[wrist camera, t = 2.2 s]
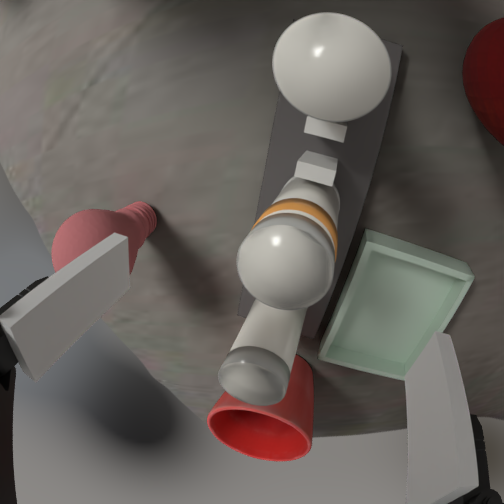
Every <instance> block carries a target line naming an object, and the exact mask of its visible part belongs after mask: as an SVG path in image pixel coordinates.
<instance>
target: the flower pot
mask: <svg viewBox="0 0 504 504" xmlns="http://www.w3.org/2000/svg"><path fill="white" fill-rule="evenodd" d="M313 409H314V387H313V373H312V370H311V368H310V366H309V364H308V363H307V362H306V361H305V360H304V359H303V358H301V357H300V356H298V355H295V358H294V362H293V366H292V370H291V373H290V380H289V383H288V387H287V391H286V394H285V396H284V398H283V399H282V400H281V401H280V402H278V403H276V404H273V405H268V406H258V405H252V404H248V403H245V402H242V401H240V400H238V399H236V398H234V397H233V396H231V395H230V394H229V393H227V392H226V391H225V392H224V393H223V395H222V396H221V397H220V399H219V400H218V401H217V403H216V404H215V405H214V407H213V408H212V410H211V411H210V413H209V414H208V417H207V423H208V427H209V429H210V431H211V432H212V433H213V435H214V436H215V437H216V438H217V439H218V440H220V441H221V442H222V443H223V444H225V445H226V446H228V447H230V448H231V449H234V450H235V451H237V452H240V453H242V454H245V455H247V456H250V457H253V458H257V459H262V460H269V461H291V460H296V459H299V458H301V457H303V456H305V455H306V454H307V453H308V452H309V451H310V449H311V446H312V435H313Z"/></svg>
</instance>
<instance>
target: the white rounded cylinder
mask: <svg viewBox="0 0 504 504" xmlns="http://www.w3.org/2000/svg"><path fill="white" fill-rule="evenodd" d="M272 69H273V75H274V78H275V81H276V84H277V86H278V88H279V90H280V91H281V93H282V95H283V96H284V97H285V98H286V100H287V101H288V102H289V103H290V104H291V105H292V106H294V107H295V108H296V109H297V110H299V111H300V112H302V113H304V114H305V115H308V116H310V117H312V118H315V119H318V120H322V121H327V122H345V121H351V120H354V119H358V118H360V117H362V116H364V115H366V114H368V113H369V112H371V111H372V110H373V109H375V108H376V107H377V106H378V105H379V104H380V102H381V101H382V100H383V98H384V97H385V95H386V93H387V91H388V89H389V85H390V82H391V61H390V57H389V54H388V51H387V49H386V47H385V45H384V44H383V42H382V40H381V39H380V38H379V36H378V35H377V34H376V33H375V32H374V31H373V30H372V29H371V28H370V27H368V26H367V25H366V24H364V23H363V22H361V21H359V20H357V19H355V18H353V17H350V16H347V15H344V14H339V13H330V12H324V13H316V14H311V15H308V16H305V17H303V18H301V19H299V20H297V21H295V22H294V23H293V24H291V25H290V26H289V27H288V28H287V29H286V30H285V31H284V32H283V33H282V35H281V36H280V38H279V39H278V41H277V43H276V46H275V49H274V52H273V59H272Z"/></svg>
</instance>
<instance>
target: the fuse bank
mask: <svg viewBox="0 0 504 504" xmlns="http://www.w3.org/2000/svg"><path fill="white" fill-rule="evenodd" d="M295 21H297V20H293V23H294V22H295ZM381 40H382V42H383V44H384V45H385V47H386V49H387V51H388V54H389V57H390V61H391V82H390V85H389V89H388V91H387V93H386V95H385V97H384V98H383V100H382V101H381V102H380V104H379V105H378V106H377V107H376V108H375V109H373V110H372V111H371V112H369V113H368V114H366V115H364V116H362V117H360V118H358V119H354V120H351V121H345V122H327V121H322V120H318V119H315V118H312V117H310V116H308V115H305V114H304V113H302V112H300V111H299V110H297V109H296V108H295V107H294V106H292V105H291V104H290V103H289V102H288V101H287V100H286V98H285V97H284V96H283V95H282V93H281V91H280V92H279V97H278V102H277V108H276V113H275V118H274V123H273V129H272V134H271V139H270V144H269V150H268V155H267V160H266V165H265V171H264V176H263V181H262V186H261V192H260V197H259V202H258V208H257V213H256V218H255V223H256V222H257V220H258V219H259V218H260V216H261V215H262V214H263V212H264V211H265V210H266V209H267V208H268V207H269V206H271V204H272V203H273V202H274V200H275V199H276V198H277V196H278V195H279V194H280V192H281V191H282V189H283V187H284V186H285V184H286V183H287V182H288V180H289V179H290V178H291V177H292V176H295V177H299V178H303V179H307V180H310V181H314V182H317V183H321V184H325V185H328V186H333V182H334V183H335V184H336V186H337V188H338V190H339V194H340V210H339V214H338V226H337V233H338V245H337V256H336V261H335V265H334V274H333V280H332V284H331V286H330V288H329V290H328V292H327V293H326V295H325V296H324V297H323V298H322V299H321V300H320V301H318V302H317V303H315V304H314V305H312V306H309V307H308V309H307V311H306V315H305V319H304V323H303V327H302V331H301V335H302V336H305V337H309V338H312V339H314V338H315V335H316V333H317V330H318V328H319V326H320V323H321V321H322V318H323V316H324V313H325V311H326V308H327V306H328V303H329V301H330V298H331V296H332V293H333V291H334V288H335V285H336V283H337V280H338V277H339V275H340V272H341V269H342V267H343V264H344V261H345V258H346V255H347V253H348V250H349V247H350V244H351V241H352V238H353V235H354V232H355V229H356V226H357V223H358V220H359V217H360V214H361V211H362V208H363V205H364V202H365V198H366V195H367V192H368V188H369V185H370V182H371V178H372V175H373V171H374V168H375V164H376V161H377V157H378V154H379V150H380V146H381V142H382V139H383V135H384V131H385V127H386V123H387V119H388V114H389V110H390V106H391V102H392V97H393V93H394V88H395V83H396V78H397V73H398V68H399V63H400V58H401V52H402V47H403V46H402V45H399V44H396V43H393V42H390V41H387V40H383V39H381ZM255 223H254V224H255ZM255 299H256V298H255V297H253V296H252V295H251V294H250V293H249V292H248V291H247V289H246V288H245V287H244V285H243V287H242V293H241V298H240V303H239V309H238V314H237V315H238V316H241V317H244V318H247V316H248V314H249V312H250V309H251V307H252V305H253V303H254V301H255Z"/></svg>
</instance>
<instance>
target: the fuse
mask: <svg viewBox="0 0 504 504" xmlns="http://www.w3.org/2000/svg"><path fill="white" fill-rule="evenodd" d="M307 309H308V307H307V308H304V309H299V310H281V309H276V308H273V307H270V306H268V305H266V304H264V303H262V302H260V301H259V300H257V299H255V301H254V303H253V305H252V307H251V309H250V312H249V314H248V316H247V318H246V320H245V322H244V324H243V326H242V328H241V330H240V332H239V334H238V336H237V338H236V340H235V342H234V344H233V346H232V348H231V350H230V352H229V353H228V355H227V357H226V358H225V360H224V362H223V364H222V366H221V368H220V370H219V373H218V379H219V382H220V384H221V386H222V387H223V388H224V390H225V391H226V392H227V393H229V394H230V395H231V396H233V397H234V398H236V399H238V400H240V401H242V402H245V403H248V404H252V405H258V406H268V405H273V404H276V403H278V402H280V401H281V400H282V399H283V398H284V396H285V394H286V391H287V387H288V383H289V380H290V373H291V370H292V366H293V362H294V358H295V355H296V351H297V347H298V343H299V339H300V335H301V331H302V327H303V323H304V319H305V315H306V311H307Z"/></svg>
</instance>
